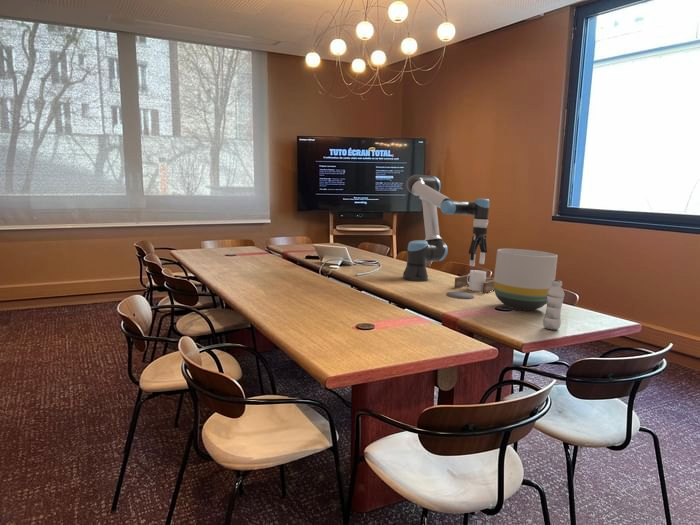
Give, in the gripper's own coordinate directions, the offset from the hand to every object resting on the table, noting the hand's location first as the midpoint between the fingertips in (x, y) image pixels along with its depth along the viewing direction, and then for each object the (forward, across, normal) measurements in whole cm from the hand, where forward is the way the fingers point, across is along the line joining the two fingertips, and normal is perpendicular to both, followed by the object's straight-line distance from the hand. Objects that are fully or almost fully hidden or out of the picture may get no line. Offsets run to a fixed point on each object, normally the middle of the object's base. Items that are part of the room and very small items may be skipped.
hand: (476, 265), depth 262 cm
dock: (+14, +2, +1) cm, 14 cm away
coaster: (+14, -23, -2) cm, 27 cm away
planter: (+15, -25, -34) cm, 44 cm away
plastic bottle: (+15, -52, -54) cm, 77 cm away
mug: (+14, 0, 0) cm, 14 cm away
